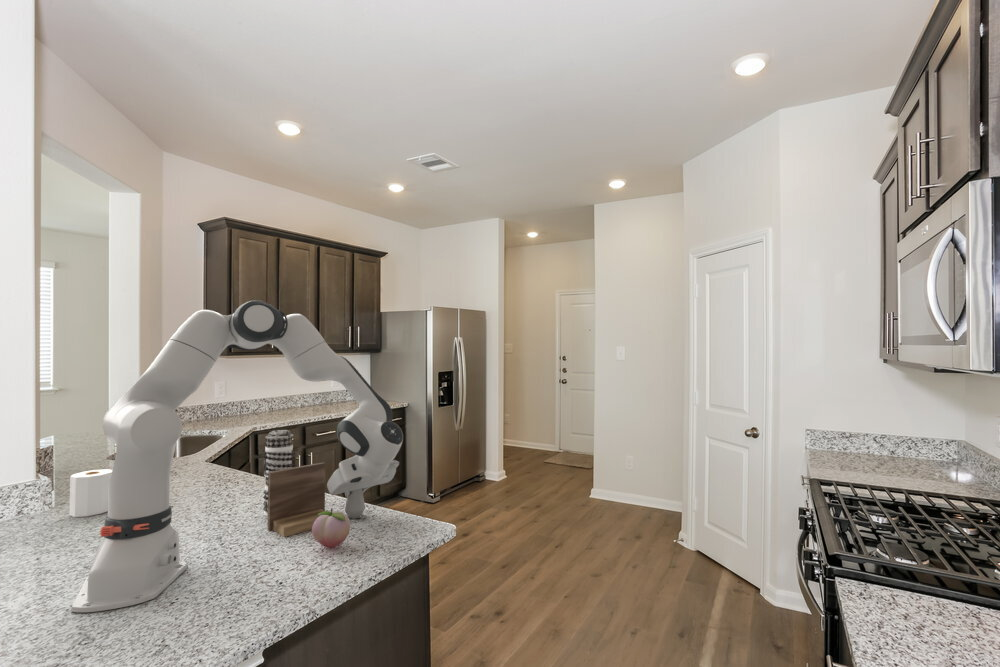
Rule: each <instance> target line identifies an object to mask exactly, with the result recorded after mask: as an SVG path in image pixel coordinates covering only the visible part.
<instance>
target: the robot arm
mask: <svg viewBox="0 0 1000 667" xmlns="http://www.w3.org/2000/svg"><path fill="white" fill-rule="evenodd" d="M268 344H269V345H272V346H274V347H276V348H277V349H278V350H279V351H280V352H281V353H282V354H283V356H284V358H285V359H286V361H287V362H288V365H290V367H291V368H292V371H293V372H294V373H295V374H296V375H297V376H298V377H299V378H300V379H302V380H305V381H308V382H315V383H317V382H318V383H319V382H327V381H328V382H329V381H333V382H337V383H339V384H341V385H342V386H343V387H344V388H345V389H346V390H347V392H348V393H349V395H351V397H353V399H354V400H355V401H356V403H358V408H356V409H355V410H354V411H352V412H351V413H350V414H348V415H346V416H345V417H344V418H343V419H342V420H340V421H339V422H338V424H337V427H336V436H337V439H338V441H339V443H340V445H341V446H342V447H343V448H344V449H345V450H347V451H348V452H350V453H352V454H354V456H352V457H349V458H347V459H344V460H342V461H340V462H339V463H338V468H337V469H335V471H334V472H333V473H332V474H331V476H330V478H329V479H328V481H327V484H326V488H327V490H328V492H329V494H330V495H332V496H335V495H340V494H343V493H344V496H345V498H347V497H348V496H350V495H351V494H352V492H351V491H353V490H357V489H362V492H363V494H364V493H365V491H366V490H368V489H369V488H372V487H374V486H379V485H383V484H386V483H389V482H391V481H392V480H393V479H394V477H395V475H396V473H397V468H398V467H399V466H400V461H398V460H396V459H395V458H396V456H397V454H399V451H400V449H401V448H402V445H403V441H404V434H403V431H402V428H401V427H400V426H399V425H398V424H397V423H396V422H393V410H392V407H391V406H390V404H389V403H388V402H387V400H385V399H384V398H382V397H381V395H379V394H378V393H377V392H376V391H375V390H374V389H373V388H372V386H371V385H370V384H369V383H368V381H367V380H366V379H365V378H364V377H363V375H362V374H361V373H360V372H359V370H358V369H357V368H356V367H355V366H354V365H353V364H352V363H351V362H350V361H349V360H348V359H347V358H346V357H344V356H341V355H339V354H337V353H336V352H335V351H334V350H333V349H332V348H331V347H330V345H328V344H327V342H326V340H325V339H324V337H323V336H322V335H321V333H320V332H319V331H318V329H317V328H316V327H315V325H314V324H313V323H312V322H311V321H310V320H309V319H308V318H307V317H306V316H305V315H303V314H301V313H291V314H287V315H286V313H284V312H283V311H281V310H279V309H277V308H275V306H273V305H272V304H269V303H268V302H265V301H263V300H250V301H246V302H244V303H243V304H241V305H239V307H238V308H236V310H235V311H234V312H233V313H232V314H228V315H224V314H221V313H219V312H216V311H214V310H211V309H201V310H197V311H195V312H194V313H193V314H191V315H190V316H189V317H188V318H187V319H186V320H185V321H184V322H183V323H182V324H181V325H180V326H179V327H178V329H177V330H176V331H175V332H174V333H173V335H171V337H170V338H169V340H168V341H167V342H166V344H165V345H164V346H163V348H162V349H161V351H159V353H158V355H156V357H155V358H154V360H153V361H152V362H151V363H150V365H149V367H148V368H147V369H146V370H145V371H144V372H143V374H141V376H139V377H138V379H137V380H136V381H135V382H133V384H131V386H130V387H129V388H128V389H127V390H126V391H125V392H124V394H122V396H120V398H119V399H118V400H117V401H116V402H115V404H113V405H112V406H111V407H110V408H108V410H107V411H105V414H104V416H103V419H102V429H103V433H104V435H105V437H107V438H106V439H108V440H109V441H110V442H112V443H114V444H115V446H116V447H115V448H116V450H115V458H114V461H113V467H112V470H113V471H112V474H111V476H110V478H109V489H108V511H107V516H106V517H105V518H104V519H105V520H104V523H103V526H102V527H101V529H100V530H99V531H100V532H99V534H100V537H101V538H102V537H103V538H102V539H101V540H100V541H99V546H98V547H97V550H96V553H95V555H94V558H93V561H92V563H91V566H90V569H89V573H88V575H87V577H86V578H85V579H84V582H83V583H82V585H81V587H80V589H79V591H78V593H77V595H76V597H75V599H74V600H73V602H72V604H71V610H70V612H72V613H94V612H95V613H96V612H102V611H110V610H114V609H119V608H125V607H130V606H135V605H138V604H142V603H145V602H148V601H150V600H154V599H156V598H157V597H158V596H159V595H160V594H162V592H163V591H165V590H166V589H167V588H168V587H169V586H170V585H171V584H172V583H173V582H174V581H175V580H176V579H177V578H179V576H180V575H181V574H183V573H184V572H185V571H186V570H187V569H188V568H189V567H188V563H187V561H181V560H180V559H181V557H180V536H179V531H178V530H176V529H175V528H174V527H173V526H172V525H171V522H172V516H173V511H172V506H171V505H170V494H171V493H170V491H171V490H170V488H171V470H172V463H173V460H174V456H175V452H176V446H177V441H178V440H179V439H180V437H181V436H182V432H183V422H182V419H181V417H180V415H179V414H178V413H177V412H176V410H177V409H178V407H180V406H181V404H182V403H184V402H185V401H186V399H188V398H189V397H190V396H191V395H193V394H194V393H195V392H197V390H198V389H199V388H200V386H201V385H202V383H203V381H204V380H205V378H206V377H207V376H208V374H209V373H210V371H211V370H212V368H213V366H214V365H215V363H216V362H217V361H218V359H219V358H220V356H221V354H222V353H223V352H224V351H225V349H226V348H227V347H228V348H232V349H238V350H242V351H256V350H259V349H261V348H263V347H265V346H266V345H268Z"/></svg>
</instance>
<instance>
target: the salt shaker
mask: <svg viewBox="0 0 1000 667" xmlns="http://www.w3.org/2000/svg"><path fill="white" fill-rule="evenodd" d="M351 492H352V494H351V495H350V496H348V497H346V502H345V506H344V512H345V513H346V514H345V515H346V516H347V517H348V518H349V519H359V518H361V517H362V516H363V514H364V511H365V509H366V505H365V499H364V493H363V492H362V489H357V490H353V491H351Z"/></svg>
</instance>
